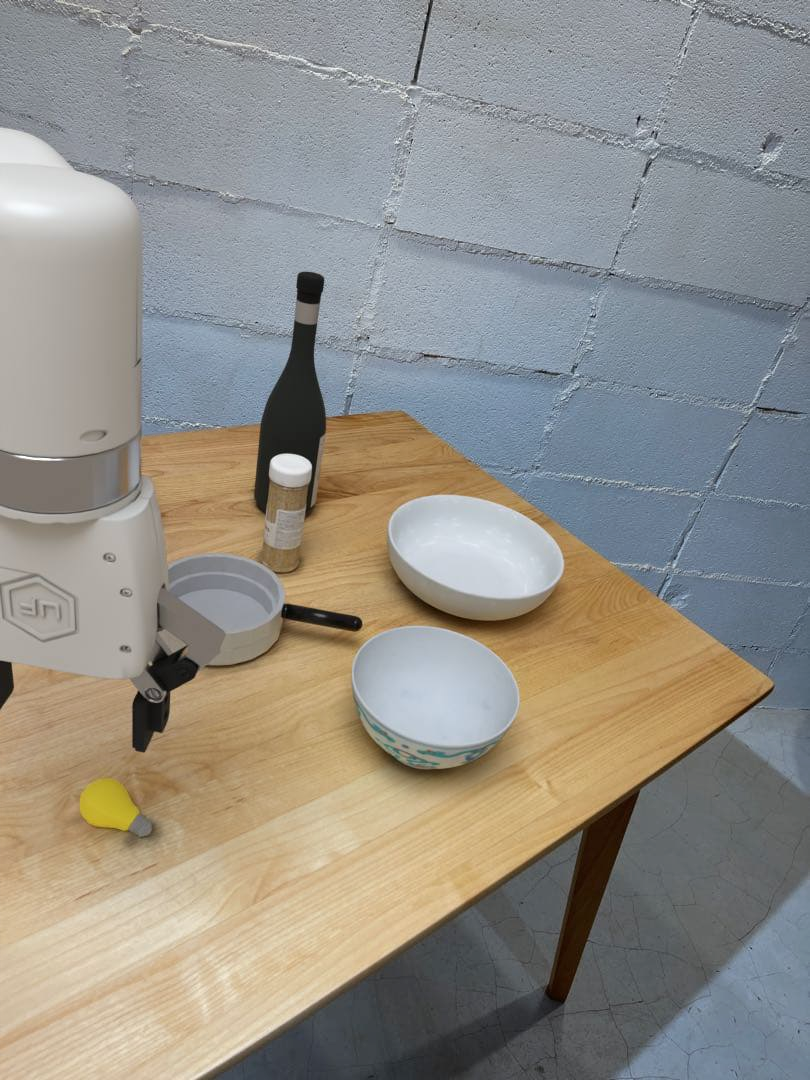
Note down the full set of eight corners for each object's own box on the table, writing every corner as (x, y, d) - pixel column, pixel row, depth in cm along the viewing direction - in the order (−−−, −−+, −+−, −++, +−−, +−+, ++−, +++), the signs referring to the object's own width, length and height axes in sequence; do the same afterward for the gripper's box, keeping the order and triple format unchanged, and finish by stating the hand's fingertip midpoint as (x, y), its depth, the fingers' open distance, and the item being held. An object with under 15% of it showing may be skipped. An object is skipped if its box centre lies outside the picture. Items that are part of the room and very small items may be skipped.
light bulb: (87, 795, 64) (105, 761, 63) (150, 836, 64) (170, 803, 63) (62, 818, 61) (81, 783, 60) (129, 862, 61) (149, 827, 60)
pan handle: (276, 620, 82) (278, 608, 81) (279, 611, 83) (281, 598, 83) (360, 636, 82) (362, 624, 82) (362, 626, 84) (364, 614, 83)
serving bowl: (397, 645, 86) (408, 594, 83) (365, 536, 103) (373, 489, 100) (575, 645, 92) (593, 597, 88) (517, 542, 109) (530, 498, 105)
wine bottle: (299, 486, 111) (327, 264, 95) (325, 517, 106) (359, 286, 90) (243, 493, 107) (263, 262, 91) (267, 525, 101) (292, 285, 85)
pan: (130, 655, 78) (130, 618, 76) (172, 577, 89) (173, 543, 87) (265, 679, 79) (270, 644, 76) (291, 599, 90) (295, 566, 87)
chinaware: (305, 731, 74) (315, 668, 70) (412, 664, 84) (427, 606, 80) (428, 839, 67) (448, 775, 63) (529, 751, 77) (552, 691, 73)
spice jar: (259, 551, 96) (269, 450, 89) (298, 553, 98) (311, 453, 90) (260, 573, 93) (270, 470, 86) (300, 575, 94) (314, 473, 87)
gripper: (-185, 455, 35) (-118, 741, 44) (220, 531, 35) (202, 797, 45) (-83, 390, 41) (-44, 652, 50) (258, 455, 42) (235, 702, 51)
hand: (72, 719), depth 47 cm, fingers open, 8 cm apart
